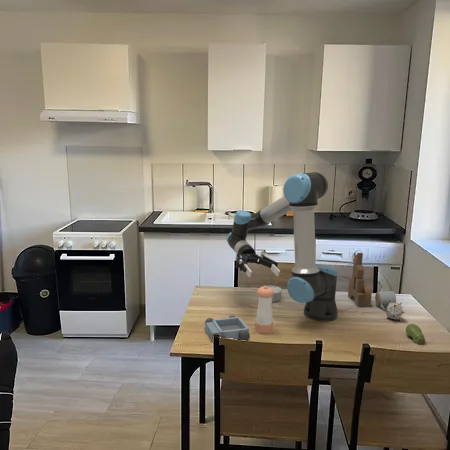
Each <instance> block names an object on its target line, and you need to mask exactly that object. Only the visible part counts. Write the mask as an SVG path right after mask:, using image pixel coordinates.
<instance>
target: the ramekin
mask: <svg viewBox="0 0 450 450" xmlns="http://www.w3.org/2000/svg"><path fill="white" fill-rule="evenodd" d="M264 286H267V287H269V288H272V289H273V291H274V295H273V297H272V303H275V302H278V301H280V299H281V295H282V293H283V289H282V287H279V286H277V285H270V284H269V285H267V284H266V285H262V286H260V287H259V288H261V287H264Z"/></svg>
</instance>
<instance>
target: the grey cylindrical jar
mask: <svg viewBox="0 0 450 450" xmlns="http://www.w3.org/2000/svg"><path fill="white" fill-rule="evenodd" d="M374 300H375V301H374V302H375V304H376V306H377V307H379V308H381V309H382V310H383V311H385V312H386V310H385V309H386V308H387V306H388V305H389V303H390V302H389V300H390V301H391V302H393V303H397V296H396V293H395V292H394V291H393V290H390V291H389V290H387V291H385V290H384V291H377V292H376V293H375V297H374Z"/></svg>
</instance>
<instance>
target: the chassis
mask: <svg viewBox="0 0 450 450" xmlns="http://www.w3.org/2000/svg"><path fill="white" fill-rule="evenodd" d="M204 325H205V327H204V330H205V332H206V334H207V335H209V336H208V337H209V339H210V341H211V340H212V341H211V342H212V343H213V336H214V335H215V334H218V335H220V337H221V338H233V339H240V340H241V341H242V340H247V341H249V339H250V338H251V336H250V328H249V326H248V325H247V324H246V323H245V322H244V321H243V319H242V318H241V317H238V316H236V315H230V316H229V317H226V318H215V319H214V318H212V317H208V318H207V319H205V321H204Z"/></svg>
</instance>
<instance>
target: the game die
mask: <svg viewBox="0 0 450 450" xmlns="http://www.w3.org/2000/svg"><path fill="white" fill-rule="evenodd" d="M389 302H390V303H389V305H388V306H387V307H385V308H386V309H385V310H386V311H385V312H386V316H387V318H386V319H387V320H388V319H393V320H397V321H398V322H401V320H400V318H401V317H402V316H403V314H404V313H405V312H406V311H404V310H403V307H402V303H403V302H400V303H398V302H396V303H393V302H391V301H390V300H389Z"/></svg>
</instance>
